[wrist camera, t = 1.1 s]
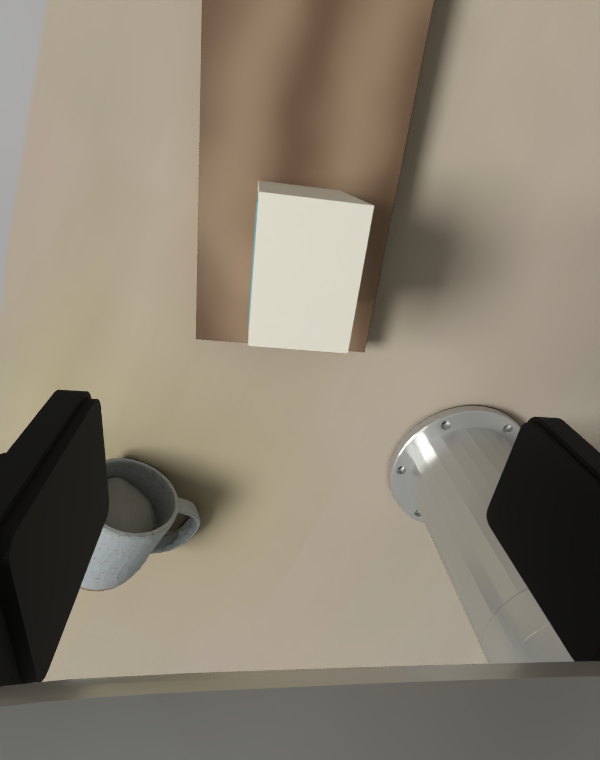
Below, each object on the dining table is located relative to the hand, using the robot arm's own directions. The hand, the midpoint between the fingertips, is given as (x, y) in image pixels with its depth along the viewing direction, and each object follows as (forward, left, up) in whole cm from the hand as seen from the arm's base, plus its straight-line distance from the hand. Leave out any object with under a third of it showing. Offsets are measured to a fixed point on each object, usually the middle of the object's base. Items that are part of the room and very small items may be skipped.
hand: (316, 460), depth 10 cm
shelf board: (-1, -6, -23) cm, 24 cm away
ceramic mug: (+10, +22, -24) cm, 34 cm away
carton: (-1, -1, -21) cm, 22 cm away
